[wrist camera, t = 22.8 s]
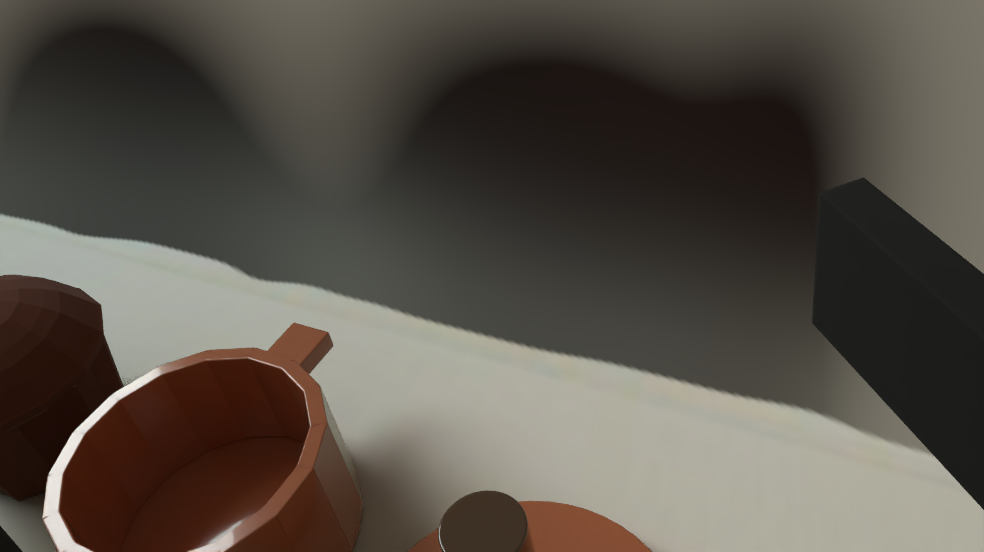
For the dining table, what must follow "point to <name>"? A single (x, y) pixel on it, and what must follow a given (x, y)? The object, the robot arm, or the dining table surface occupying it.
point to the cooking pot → (211, 460)
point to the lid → (525, 528)
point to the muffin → (47, 375)
